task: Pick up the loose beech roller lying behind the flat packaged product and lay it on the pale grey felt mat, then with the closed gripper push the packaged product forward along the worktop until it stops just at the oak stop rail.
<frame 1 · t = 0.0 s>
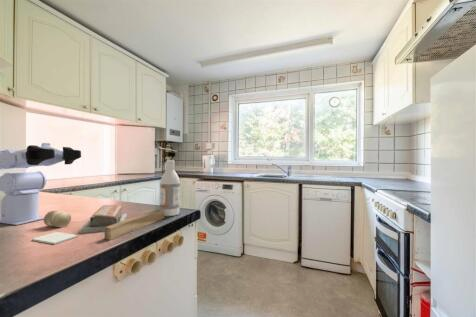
hand: (67, 153, 67), 22 cm above the counter, tool horizontal, fingers open, 7 cm apart
roller: (57, 226, 68), on the counter
packaged product: (106, 225, 72), on the counter
felt mat: (55, 238, 57), on the counter
bath foam: (169, 214, 84), on the counter
stop rail: (138, 227, 68), on the counter
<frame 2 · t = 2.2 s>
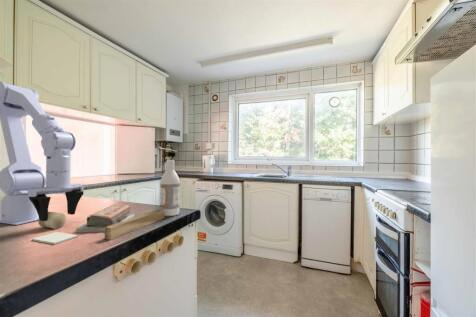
hand: (58, 217, 68), 3 cm above the counter, tool pointing down, fingers open, 7 cm apart
roller: (59, 220, 68), point 1 cm above the counter, tilted 71°, touching gripper
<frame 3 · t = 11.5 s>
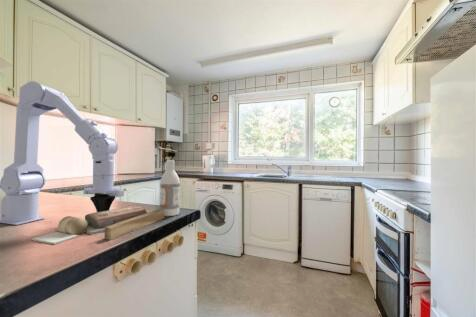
hand: (102, 217, 72), 1 cm above the counter, tool pointing down, fingers closed
roller: (64, 228, 60), point 2 cm above the counter, tilted 82°
packaged product: (116, 226, 71), on the counter
everything else where it was.
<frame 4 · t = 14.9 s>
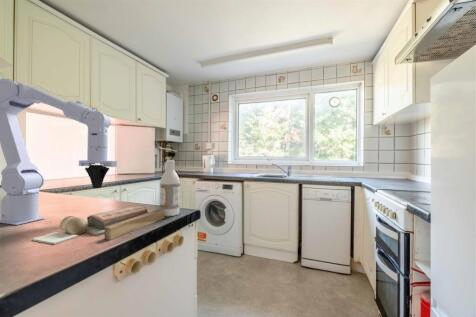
hand: (97, 187, 76), 10 cm above the counter, tool pointing down, fingers closed
roller: (65, 227, 60), point 2 cm above the counter, tilted 88°
packaged product: (118, 226, 70), on the counter
everything else where it was.
at the end: packaged product inside the target area (1.0 cm from its centre), on the counter; packaged product moved 5.1 cm from its start; roller 2.4 cm from the felt mat (horizontally) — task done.
